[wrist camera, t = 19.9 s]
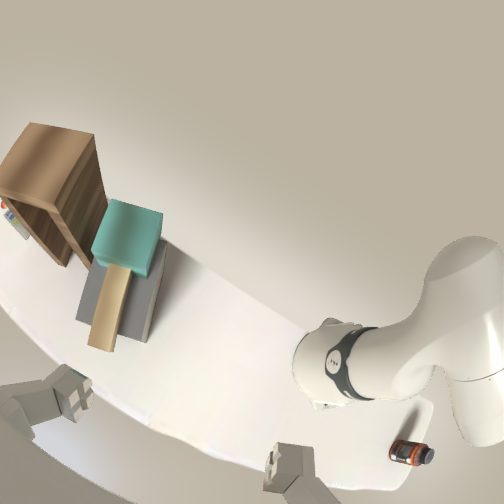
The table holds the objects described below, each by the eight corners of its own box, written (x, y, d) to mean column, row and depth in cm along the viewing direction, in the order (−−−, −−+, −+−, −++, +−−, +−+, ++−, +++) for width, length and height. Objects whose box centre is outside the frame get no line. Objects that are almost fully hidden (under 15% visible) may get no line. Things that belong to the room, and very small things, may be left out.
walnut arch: (116, 237, 44) (93, 134, 21) (102, 279, 41) (53, 203, 18) (74, 223, 42) (30, 122, 19) (58, 264, 39) (-11, 183, 16)
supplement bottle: (385, 462, 45) (419, 470, 35) (390, 441, 48) (425, 447, 38) (400, 458, 47) (433, 464, 37) (405, 438, 49) (439, 442, 39)
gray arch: (162, 274, 45) (167, 241, 32) (146, 343, 40) (141, 341, 27) (119, 261, 43) (106, 223, 30) (100, 329, 38) (75, 319, 25)
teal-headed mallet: (161, 232, 32) (163, 213, 28) (128, 356, 26) (122, 358, 22) (116, 219, 30) (111, 198, 26) (78, 340, 24) (65, 338, 20)
